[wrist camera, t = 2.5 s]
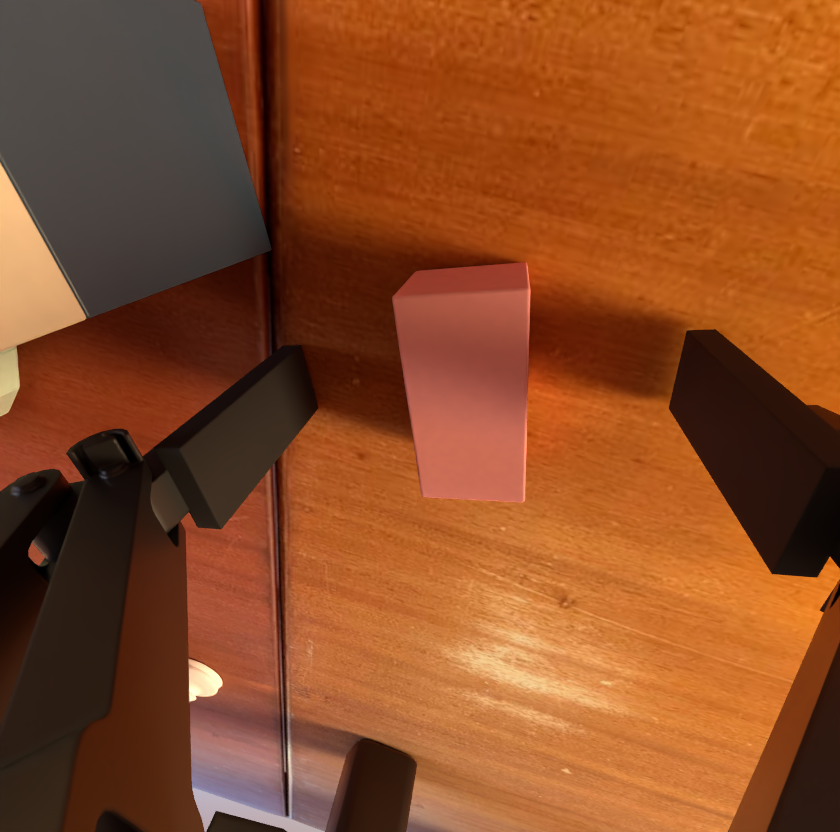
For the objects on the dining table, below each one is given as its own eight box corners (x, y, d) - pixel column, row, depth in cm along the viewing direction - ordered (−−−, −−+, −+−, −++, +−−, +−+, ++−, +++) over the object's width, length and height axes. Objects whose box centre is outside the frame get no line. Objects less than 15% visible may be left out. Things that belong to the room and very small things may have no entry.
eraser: (414, 270, 13) (390, 296, 10) (527, 261, 12) (530, 287, 10) (435, 446, 16) (421, 498, 14) (523, 449, 16) (524, 503, 13)
